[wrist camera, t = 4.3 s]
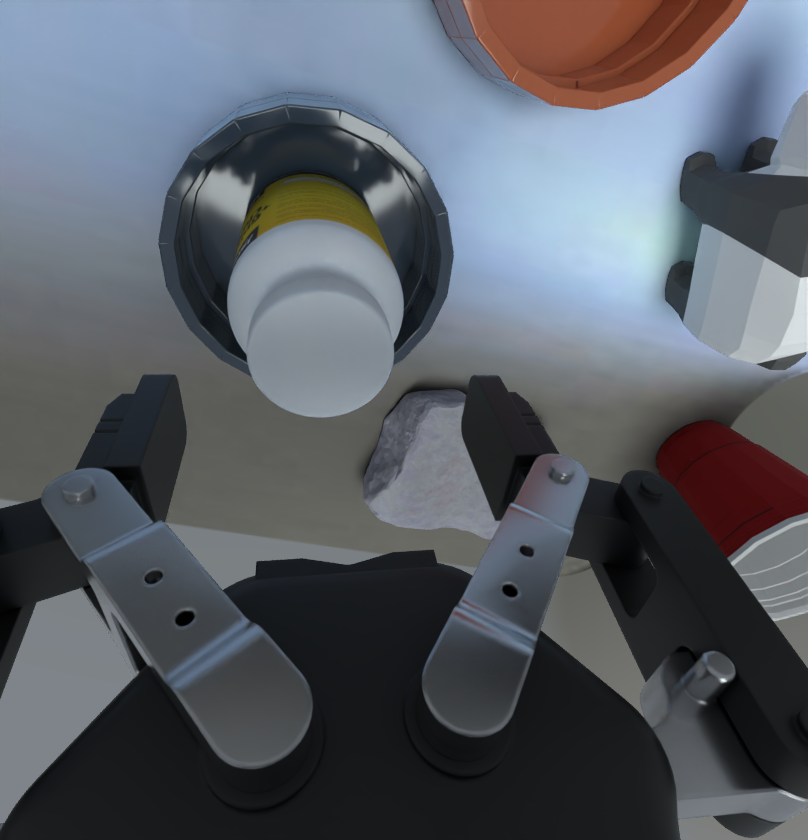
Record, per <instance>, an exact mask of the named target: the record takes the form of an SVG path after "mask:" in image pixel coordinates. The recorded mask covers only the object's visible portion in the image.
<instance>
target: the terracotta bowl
mask: <svg viewBox="0 0 808 840" xmlns="http://www.w3.org/2000/svg"><path fill="white" fill-rule="evenodd" d="M433 1H434V3H435V5H436V8H437V10H438V13H439V15H440V18H441V20H442V22H443V25H444V27H445V30H446V32H447V35H448V36H449V38H450V39H451V40H452V42H453V43H454V44H455V45H456V46H457V48H458V49H459V50H460V51H461V53H462V54H463V55H464V56H465V57H466V59H467V60H468V61H469V62H470V63H471V65H472V66H473V67H474V68H475V69H476V71H477V72H478V73H480V74H481V75H482V76H484V77H486V78H488V79H489V80H491V81H493V82H495V83H496V84H498V85H500V86H502V87H504V88H505V89H507V90H509V91H511V92H512V93H514V94H517V95H520V96H523V97H527V98H530V99H534V100H536V101H540V102H543V103H546V104H549V105H553V106H561V107H571V108H580V109H589V110H599V109H603V108H607V107H610V106H614V105H618V104H621V103H625V102H628V101H632V100H636V99H639V98H642V97H645V96H647V95H648V94H650V93H651V92H653V91H655V90H656V89H658V88H659V87H661V86H662V85H664V84H665V83H667V82H669V81H670V80H672V79H673V78H675V77H676V76H678V75H679V74H681V73H683V72H684V71H686V70H687V69H689V68H690V67H691V66H692V65H693V64H694V63H695V62H696V61H697V60H698V59H699V58H700V57H701V56H702V55H703V54H704V53H705V52H706V51H707V50H708V49H709V48H710V47H711V46H712V44H713V43H714V42H715V41H716V40H717V39H718V38H719V37H720V36H721V35H722V34H723V33H724V32H725V31H726V30H727V29H728V28H729V27H730V25H731V24H732V23H733V22H734V21H735V19H736V18H737V17H738V16H739V14H740V12H741V11H742V9H743V8H744V6H745V4H746V3H747V1H748V0H433Z"/></svg>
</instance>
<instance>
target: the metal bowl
mask: <svg viewBox="0 0 808 840" xmlns="http://www.w3.org/2000/svg"><path fill="white" fill-rule="evenodd" d="M301 171H313V172H320V173H324V174H328V175H331V176H333V177H335V178H338V179H340V180H341V181H343V182H345V183H346V184H348V185H349V186H350V187H352V188H353V189H354V190H355V191H356V192H357V193H358V194H359V195H360V196H361V197H362V198H363V200H364V201H365V202H366V204H367V206H368V207H369V209H370V211H371V212H372V215H373V217H374V219H375V222H376V224H377V226H378V228H379V231H380V233H381V235H382V237H383V240H384V242H385V245H386V247H387V249H388V252H389V254H390V257H391V259H392V262H393V264H394V266H395V269H396V271H397V274H398V277H399V280H400V283H401V287H402V292H403V300H404V310H403V319H402V324H401V328H400V331H399V333H398V336H397V339H396V340H395V342H394V361H393V365H394V364H396V363H398V362H400V361H401V360H403V358H405V357H406V356H407V355H408V354H409V353H410V351H411V350H412V349H413V348H414V347H415V346H416V345H417V344H418V343H419V342H420V341H421V340H422V339H423V338H424V337H425V335H426V334H427V333H428V332H429V330H430V329H431V327H432V325H433V323H434V321H435V319H436V317H437V315H438V313H439V311H440V309H441V307H442V305H443V303H444V301H445V299H446V297H447V294H448V288H449V282H450V276H451V269H452V263H453V257H454V255H453V253H454V252H453V245H452V238H451V232H450V225H449V219H448V212H447V211H446V207H445V205H444V203H443V201H442V199H441V197H440V195H439V193H438V191H437V189H436V187H435V185H434V183H433V181H432V179H431V177H430V175H429V173H428V171H427V169H426V168H425V167H424V166H423V164H422V163H421V162H420V161H419V160H418V159H417V158H416V157H415V156H414V155H413V154H412V153H411V152H410V151H409V150H408V149H407V147H406V146H405V145H404V144H403V143H401V142H400V141H399V140H398V139H397V138H396V137H395V136H394V135H393V134H392V133H391V132H390V131H389V130H388V129H387V128H386V127H385V126H384V125H383V124H382V123H381V122H380V121H379V120H378V119H377V118H375V117H374V116H373V115H371V114H368V113H366V112H364V111H362V110H360V109H358V108H356V107H354V106H352V105H350V104H348V103H346V102H344V101H342V100H340V99H337V98H334V97H332V96H322V95H312V94H302V93H292V92H288V94H287V93H282V94H278V95H275V96H271V97H268V98H264V99H260V100H257V101H253V102H249V103H246V104H244V105H241V106H240V107H239V108H237V109H236V110H235V111H233V112H232V113H231V114H229V115H228V116H227V117H225V118H224V119H223V120H221V121H220V122H219V123H218V124H216V125H215V126H214V127H212V128H211V129H210V130H208V131H207V133H206V134H205V135H204V136H203V137H202V139H201V140H200V141H199V142H198V144H197V145H196V146H195V148H194V149H193V150H192V151H191V153H190V155H189V156H188V158H187V160H186V161H185V163H184V165H183V166H182V168H181V170H180V171H179V173H178V175H177V176H176V178H175V180H174V181H173V183H172V185H171V186H170V188H169V190H168V191H167V195H166V199H165V205H164V211H163V216H162V222H161V228H160V234H159V249H160V254H161V260H162V265H163V271H164V276H165V282H166V287H167V289H168V291H169V293H170V295H171V297H172V299H173V300H174V302H175V304H176V306H177V308H178V310H179V311H180V313H181V315H182V317H183V319H184V321H185V323H186V324H187V326H188V327H189V329H190V330H191V331H192V332H193V333H194V334H195V335H196V336H197V337H198V338H199V339H200V340H201V341H202V342H203V343H204V344H205V345H206V346H207V347H208V348H209V349H210V350H211V351H212V352H213V353H214V354H215V355H216V356H217V357H218V358H220V359H221V360H223V361H224V362H226V363H228V364H230V365H231V366H233V367H235V368H237V369H239V370H240V371H242V372H244V373H246V374H248V375H249V376H251V373H250V370H249V366H248V362H247V355H246V353H245V352H244V351H243V349H242V348H241V346H240V345H239V343H238V342H237V340H236V337H235V335H234V333H233V331H232V328H231V325H230V321H229V316H228V308H227V296H228V287H229V282H230V277H231V273H232V270H233V265H234V262H235V258H236V254H237V249H238V245H239V240H240V236H241V232H242V227H243V222H244V219H245V215H246V212H247V210H248V208H249V206H250V204H251V202H252V201H253V199H254V198H255V197H256V195H257V194H258V193H259V192H260V191H261V190H262V189H263V188H264V187H265V186H266V185H268V184H269V183H270V182H272V181H273V180H275V179H277V178H279V177H281V176H283V175H286V174H289V173H293V172H301ZM251 377H252V376H251Z"/></svg>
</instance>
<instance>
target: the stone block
mask: <svg viewBox="0 0 808 840" xmlns="http://www.w3.org/2000/svg"><path fill="white" fill-rule="evenodd" d="M465 400H466V395H465V394H464V393H462V392H460V391H458V390H454V389H444V390H430V391H418V392H412V393H408V394H406V395H405V396H404V397H403V398H402V399H401V401H400V402H399V404H398V405H397V406H396V407H395V408H394V410H393V411H392V412H391V413H390V414H389V415H388V416H387V417H386V418H385V420H384V423H383V429H382V432H381V435H380V438H379V442H378V445H377V448H376V450H375V451H374V453H373V455H372V458H371V461H370V464H369V466H368V469H367V471H366V474H365V476H364V500H365V502H366V504H367V505H368V506H369V507H370V510H371V511H372V512H373V513H374V514H375V515H376V517H377V518H378V519H379V520H381V521H384V522H388V523H391V524H394V525H395V526H397V527H406V528H417V529H428V530H430V529H436V528H441V527H452V528H457V529H460V530H463V531H471V532H473V533H475V534H477V535H479V536H481V537H482V538H486V539H492V537H493V536H494V534H495V532H496V530H497V528H498V526H499V524H500V522H501V521H495V519H494V517H493V514H492V512H491V509H490V507H489V504H488V501H487V499H486V496H485V494H484V491H483V489H482V486H481V484H480V481H479V479H478V476H477V474H476V471H475V469H474V466H473V464H472V461H471V459H470V456H469V453H468V451H467V448H466V446H465V443H464V441H463V438H462V433H461V419H462V414H463V410H464V405H465ZM548 436H549V435H548ZM550 439H551V438H550ZM551 441H552V440H551Z"/></svg>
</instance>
